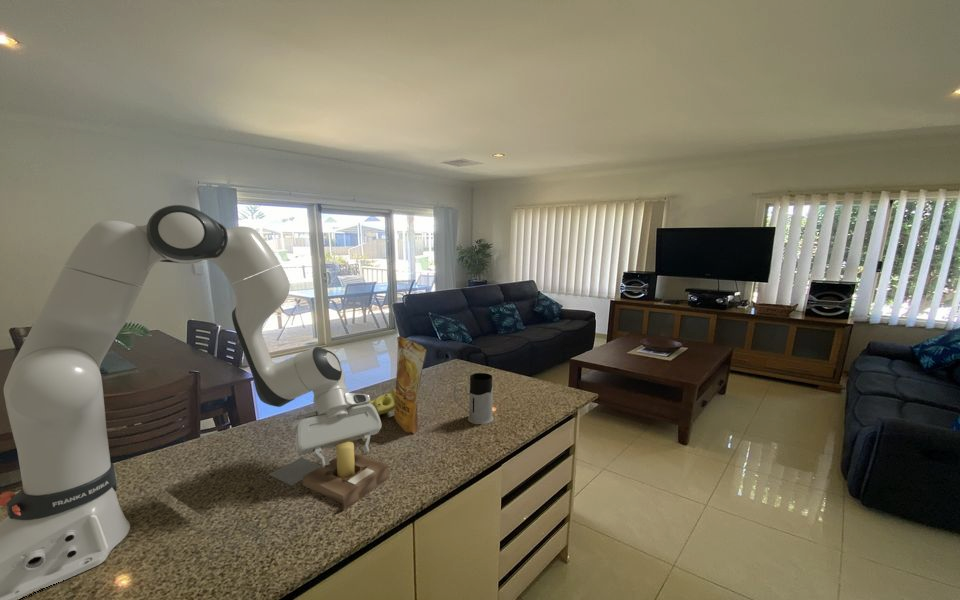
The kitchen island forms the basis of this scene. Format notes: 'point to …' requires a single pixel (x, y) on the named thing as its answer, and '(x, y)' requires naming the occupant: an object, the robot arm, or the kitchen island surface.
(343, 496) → the hole block
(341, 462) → the peg
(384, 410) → the plastic component
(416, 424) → the pancake mix bag
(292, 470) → the plate
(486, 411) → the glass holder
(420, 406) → the kitchen island surface
